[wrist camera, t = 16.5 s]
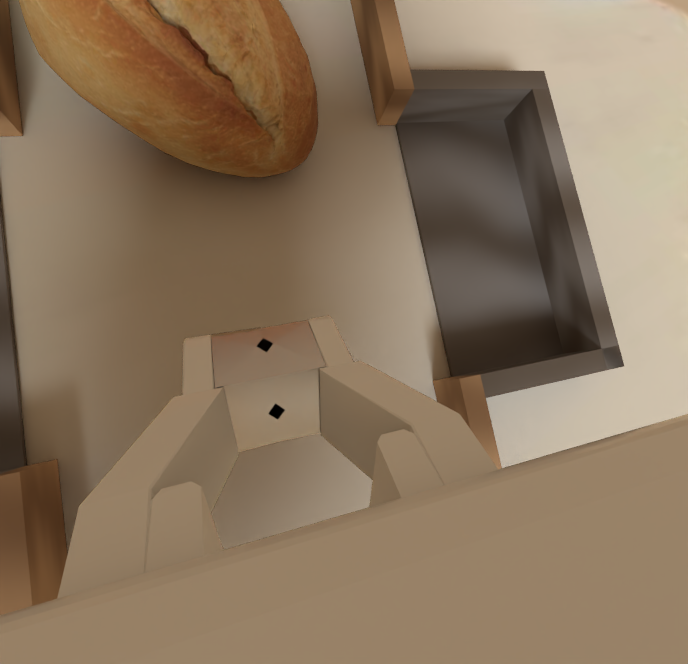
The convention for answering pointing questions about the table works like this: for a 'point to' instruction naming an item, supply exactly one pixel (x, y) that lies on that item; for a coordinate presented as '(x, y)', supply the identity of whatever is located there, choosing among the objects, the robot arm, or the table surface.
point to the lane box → (440, 254)
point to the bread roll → (188, 76)
